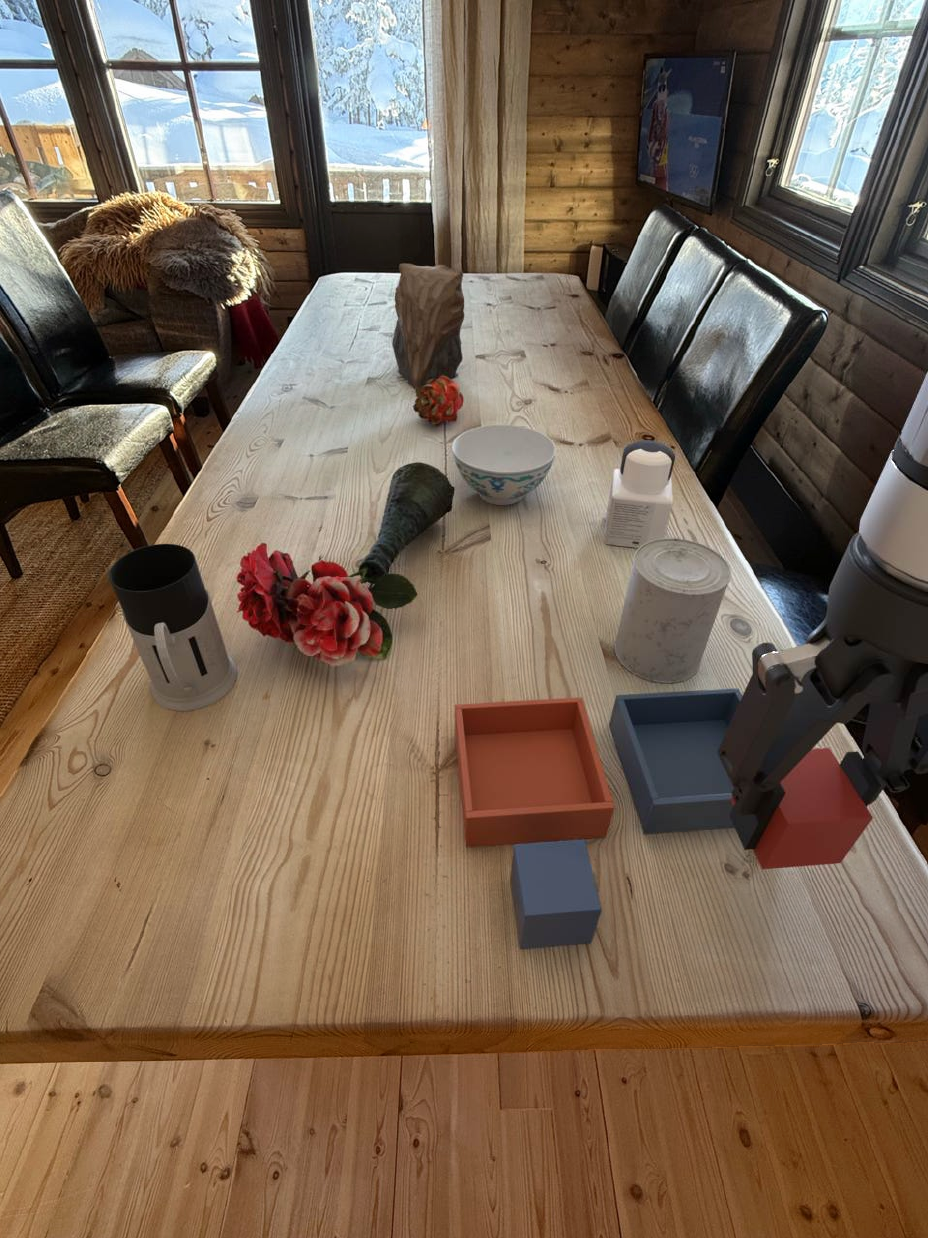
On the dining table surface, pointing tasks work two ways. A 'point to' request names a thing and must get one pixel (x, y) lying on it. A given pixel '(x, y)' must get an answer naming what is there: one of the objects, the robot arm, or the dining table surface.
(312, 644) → the flower vase
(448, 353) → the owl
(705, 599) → the grey tin can
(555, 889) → the blue block
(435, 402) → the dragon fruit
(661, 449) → the container
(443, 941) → the dining table surface
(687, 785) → the blue bin
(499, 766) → the red bin
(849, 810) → the red block
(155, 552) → the glass holder
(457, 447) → the chinaware
